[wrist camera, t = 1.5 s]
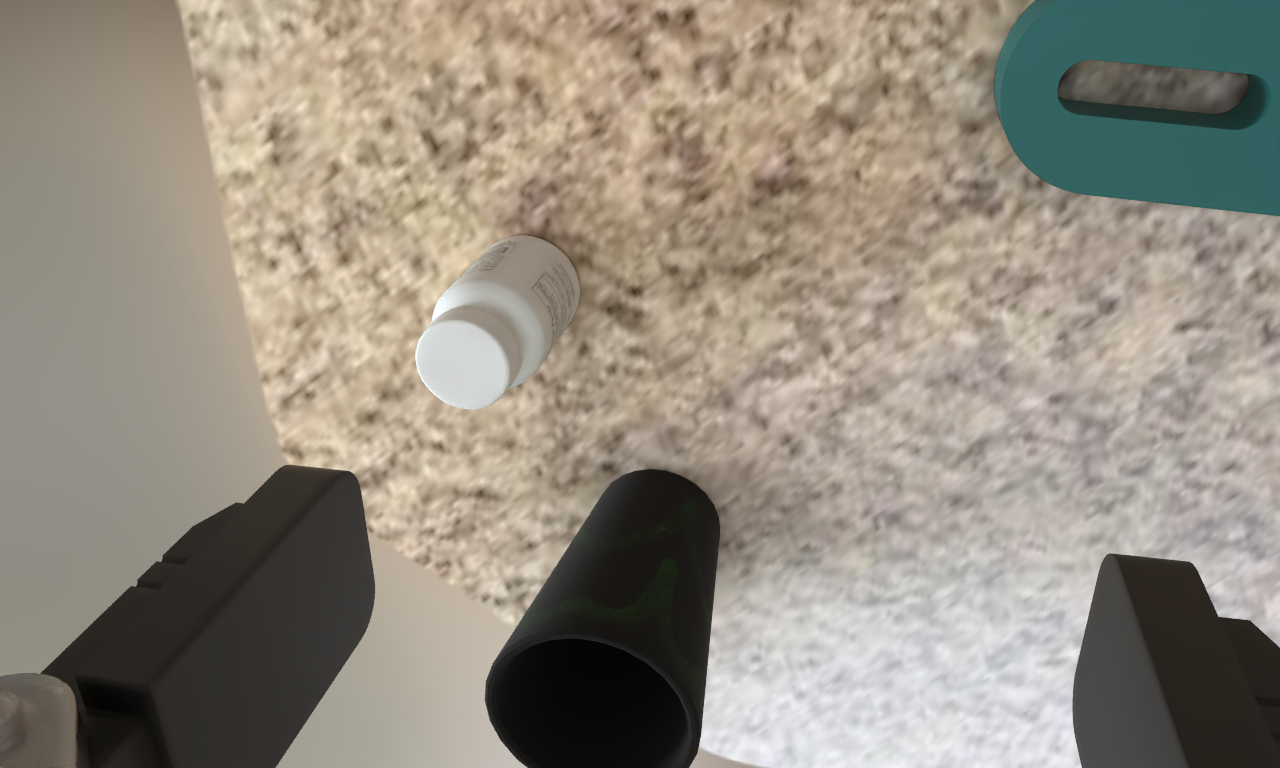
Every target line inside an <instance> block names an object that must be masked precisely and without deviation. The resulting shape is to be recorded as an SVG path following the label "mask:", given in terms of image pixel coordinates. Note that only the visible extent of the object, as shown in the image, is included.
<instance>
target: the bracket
mask: <svg viewBox="0 0 1280 768" xmlns="http://www.w3.org/2000/svg"><path fill="white" fill-rule="evenodd" d="M1085 60H1099V61H1110V62H1121V63H1132V64H1144V65H1155V66H1166V67H1177V68H1188V69H1199V70H1210V71H1221V72H1232V73H1244V74H1247V75H1248V78H1249V87H1248V91H1247V93H1246V96H1245V97H1244V99H1243V100H1242V101H1241V103H1239V104H1238V105H1237V106H1236V107H1235V108H1233V109H1232V110H1230V111H1228V112H1225V113H1221V114H1206V113H1196V112H1185V111H1175V110H1164V109H1154V108H1144V107H1133V106H1123V105H1113V104H1102V103H1092V102H1081V101H1071V100H1065V99H1062V98H1059V97H1058V93H1057V89H1058V84H1059V81H1060V79H1061V77H1062V75H1063V74H1064V73H1065V71H1066V70H1067V69H1068V68H1070V67H1071V66H1072V65H1074V64H1076V63H1078V62H1081V61H1085ZM994 96H995V104H996V108H997V112H998V116H999V119H1000V121H1001V124H1002V126H1003V129H1004V131H1005V133H1006V136H1007V138H1008V141H1009V142H1010V144H1011V146H1012V148H1013V150H1014V152H1015V153H1016V154H1017V156H1018V157H1019V159H1020V160H1021V161H1022V162H1023V163H1024V164H1025V166H1026V167H1027V168H1028V169H1030V170H1031V171H1032V172H1033V173H1034V174H1035V175H1037V176H1038V177H1040V178H1041V179H1042V180H1044V181H1046V182H1048V183H1049V184H1051V185H1053V186H1056V187H1058V188H1061V189H1063V190H1066V191H1070V192H1074V193H1078V194H1084V195H1092V196H1101V197H1110V198H1120V199H1129V200H1138V201H1147V202H1156V203H1165V204H1174V205H1183V206H1192V207H1201V208H1210V209H1219V210H1228V211H1238V212H1247V213H1256V214H1265V215H1274V216H1280V0H1036V1H1035V2H1033V3H1032V4H1031V5H1030V6H1029V7H1028V8H1027V9H1026V11H1025V12H1024V13H1023V14H1022V15H1021V16H1020V18H1019V19H1018V20H1017V22H1016V23H1015V25H1014V26H1013V28H1012V29H1011V31H1010V33H1009V34H1008V36H1007V38H1006V40H1005V42H1004V45H1003V47H1002V49H1001V52H1000V55H999V58H998V62H997V66H996V71H995V80H994Z"/></svg>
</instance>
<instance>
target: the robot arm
mask: <svg viewBox="0 0 1280 768" xmlns="http://www.w3.org/2000/svg"><path fill="white" fill-rule="evenodd" d="M137 581H138V583H137V586H136V587H133V586H131V587H130V588H129V589H127V590H126V592H124V593H123V594H122V595H121V596H120V597H119V598H118V599H117V600H116V601H115V602H114V603H113V604H112V605H111V606H110V607H109V608H108V609H107V610H106V611H105V612H104V613H103V614H102V615H101V616H99V618H97V619H96V621H94V622H93V623H92V624H91V625H90V626H89V627H88V628H87V629H86V630H85V631H84V632H83V633H82V634H81V635H80V636H79V637H78V638H77V639H76V640H75V641H74V642H72V644H70V645H69V646H68V647H67V648H66V649H65V650H64V651H63V652H62V653H61V654H60V655H59V656H58V657H57V658H56V659H55V660H54V661H53V662H52V663H51V664H50V665H49V666H48V667H47V668H46V669H45V670H43V671H42V672H41V673H40V674H36V673H23V674H22V673H21V674H13V675H6V676H1V677H0V768H275V767H276V766H277V764H278V763H279V761H280V760H281V759H282V757H283V755H284V754H285V753H286V751H287V749H288V748H289V746H290V745H291V744H292V742H293V740H294V739H295V738H296V736H297V734H298V733H299V731H300V730H301V729H302V727H303V725H304V724H305V723H306V721H307V720H308V718H309V716H310V715H311V714H312V712H313V711H314V709H315V708H316V706H317V705H318V703H319V701H320V700H321V699H322V697H323V696H324V694H325V693H326V691H327V690H328V688H329V687H330V685H331V684H332V682H333V681H334V679H335V678H336V676H337V674H338V673H339V672H340V670H341V669H342V667H343V665H344V664H345V663H346V661H347V660H348V658H349V657H350V655H351V654H352V652H353V651H354V649H355V648H356V646H357V645H358V643H359V642H360V640H361V639H362V637H363V635H364V634H365V631H366V629H367V627H368V624H369V622H370V618H371V615H372V611H373V605H374V598H375V581H374V574H373V567H372V560H371V554H370V548H369V541H368V534H367V527H366V521H365V514H364V508H363V501H362V495H361V489H360V485H359V482H358V480H357V478H356V476H355V475H354V474H353V473H351V472H350V471H343V470H333V469H324V468H314V467H305V466H295V465H285V466H283V467H281V468H280V469H278V470H277V471H276V472H275V473H274V474H273V475H272V476H271V477H270V478H269V479H268V480H267V481H266V482H265V483H264V484H263V485H262V486H261V487H260V488H259V489H258V490H257V491H256V492H255V493H254V494H253V495H252V496H251V497H250V498H249V499H248V500H247V501H246V502H245V503H244V504H242V503H235V504H233V505H231V506H229V507H227V508H226V509H224V510H222V511H220V512H218V513H216V514H215V515H213V516H211V517H209V518H208V519H205V520H204V521H202V522H200V523H198V524H196V525H195V526H193V527H192V528H191V529H190V530H189V531H188V532H187V533H186V534H185V535H184V536H182V538H180V539H179V540H178V541H177V542H176V543H175V544H174V545H173V546H172V547H171V548H170V549H169V550H168V551H167V552H166V553H165V554H164V555H163V559H162V562H156V563H155V564H154V565H152V566H151V567H150V568H149V569H148V570H147V571H146V572H145V573H144V574H143V575H142V576H141V577H140V578H139V579H138V580H137ZM1073 725H1074V733H1075V738H1076V743H1077V747H1078V752H1079V756H1080V761H1081V765H1082V768H1280V648H1279V647H1278V646H1277V645H1276V644H1275V643H1274V642H1273V641H1272V640H1271V639H1270V638H1268V637H1267V636H1266V635H1265V634H1264V633H1263V632H1262V631H1261V630H1260V629H1259V628H1258V627H1256V626H1255V625H1254V624H1253V623H1252V622H1251V621H1250V620H1241V619H1232V618H1223V617H1218V615H1217V613H1216V611H1215V608H1214V606H1213V604H1212V602H1211V600H1210V597H1209V595H1208V593H1207V591H1206V589H1205V586H1204V584H1203V582H1202V580H1201V578H1200V575H1199V573H1198V571H1197V569H1196V567H1195V566H1194V565H1193V564H1192V563H1190V562H1186V561H1177V560H1168V559H1158V558H1149V557H1139V556H1130V555H1120V554H1108V555H1106V557H1105V558H1104V560H1103V562H1102V564H1101V567H1100V570H1099V574H1098V578H1097V582H1096V586H1095V591H1094V595H1093V599H1092V603H1091V608H1090V612H1089V616H1088V621H1087V625H1086V629H1085V634H1084V638H1083V642H1082V646H1081V651H1080V655H1079V659H1078V664H1077V668H1076V673H1075V679H1074V687H1073Z"/></svg>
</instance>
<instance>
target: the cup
mask: <svg viewBox="0 0 1280 768" xmlns="http://www.w3.org/2000/svg"><path fill="white" fill-rule="evenodd" d="M719 537H720V525H719V517H718V515H717V512H716V510H715V507H714V505H713V503H712V502H711V501H710V499H709V498H708V496H707V495H706V494H705V493H704V492H703V491H702V490H701V489H700V488H699V487H698V486H696V485H695V484H694V483H692V482H691V481H689V480H687V479H685V478H684V477H682V476H680V475H677V474H673V473H670V472H667V471H661V470H651V469H650V470H641V471H634V472H632V473H629V474H626V475H623V476H621V477H620V478H619V479H617V480H616V481H614V482H613V483H611V485H610V486H609V487H608V488H607V489H606V491H605V492H604V493H603V495H602V496H601V498H600V499H599V501H598V502H597V504H596V505H595V507H594V509H593V510H592V512H591V513H590V515H589V516H588V518H587V519H586V521H585V522H584V524H583V525H582V527H581V529H580V530H579V532H578V533H577V535H576V536H575V538H574V539H573V541H572V542H571V544H570V546H569V547H568V549H567V550H566V552H565V553H564V555H563V556H562V558H561V559H560V561H559V562H558V564H557V566H556V567H555V569H554V570H553V572H552V573H551V575H550V576H549V578H548V579H547V581H546V583H545V584H544V586H543V587H542V589H541V590H540V592H539V593H538V595H537V596H536V598H535V600H534V601H533V603H532V604H531V606H530V607H529V609H528V610H527V612H526V613H525V615H524V616H523V618H522V620H521V621H520V623H519V624H518V626H517V627H516V629H515V630H514V632H513V634H512V635H511V637H510V638H509V640H508V641H507V643H506V644H505V646H504V647H503V649H502V650H501V652H500V654H499V655H498V657H497V658H496V660H495V661H494V663H493V665H492V667H491V670H490V672H489V675H488V678H487V680H486V690H485V691H486V692H485V703H486V707H487V710H488V715H489V719H490V722H491V723H492V725H493V727H494V729H495V731H496V732H497V734H498V736H499V738H500V740H501V741H502V742H503V743H504V744H505V746H506V747H507V748H508V749H509V751H510V752H511V753H512V754H513V755H514V756H515V757H516V759H518V760H519V761H520V762H521V763H522V764H524V765H525V766H527V767H528V768H689V767H690V765H691V763H692V762H693V760H694V758H695V756H696V755H697V752H698V747H699V742H700V737H701V729H702V718H703V707H704V697H705V686H706V675H707V665H708V654H709V643H710V633H711V622H712V611H713V601H714V590H715V579H716V569H717V558H718V547H719Z"/></svg>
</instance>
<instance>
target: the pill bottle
mask: <svg viewBox="0 0 1280 768" xmlns="http://www.w3.org/2000/svg"><path fill="white" fill-rule="evenodd" d="M579 300H580V285H579V280H578V277H577V273H576V271H575V269H574V267H573V265H572V263H571V262H570V260H569V259H568V257H567V256H566V255H565V254H564V253H563V252H562V251H561V250H559V249H558V248H557V247H555V246H554V245H552V244H551V243H549V242H547V241H545V240H542V239H540V238H537V237H532V236H526V235H518V236H512V237H508V238H504V239H502V240H500V241H498V242H496V243H495V244H493V245H492V246H491V247H490V248H489V249H488V250H487V251H486V252H485V253H484V254H482V255H481V257H480V258H479V259H478V260H477V261H476V262H475V263H474V264H473V265H472V266H471V267H470V268H469V269H467V270H466V271H465V272H464V273H463V274H462V275H461V276H460V277H459V278H458V279H457V280H456V281H455V282H454V283H453V284H452V285H451V286H450V287H449V288H448V290H447V291H446V292H445V293H444V294H443V295H442V296H441V298H440V299H439V301H438V303H437V305H436V307H435V310H434V313H433V317H432V324H431V325H430V326H429V327H428V328H427V329H426V331H425V332H424V333H423V334H422V336H421V338H420V340H419V342H418V345H417V349H416V365H417V369H418V372H419V374H420V377H421V378H422V380H423V382H424V383H425V385H426V386H427V388H428V389H429V390H430V391H431V392H432V393H433V394H434V395H435V396H437V397H438V398H439V399H441V400H442V401H444V402H446V403H448V404H450V405H452V406H455V407H458V408H462V409H480V408H484V407H487V406H490V405H491V404H493V403H495V402H496V401H498V400H499V399H500V398H501V397H502V396H503V394H504V393H505V392H506V391H507V390H508V389H509V388H512V387H515V386H517V385H520V384H521V383H523V382H525V381H526V380H528V379H529V378H530V377H531V376H532V375H533V374H534V373H535V372H536V371H537V370H538V369H539V367H540V366H541V365H542V363H543V361H544V360H545V358H546V357H547V355H548V354H549V352H550V350H551V349H552V348H553V346H554V345H555V343H556V342H557V340H558V339H559V338H560V336H561V335H562V333H563V332H564V330H565V329H566V327H567V326H568V324H569V323H570V321H571V320H572V318H573V317H574V315H575V313H576V310H577V308H578V305H579Z"/></svg>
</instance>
